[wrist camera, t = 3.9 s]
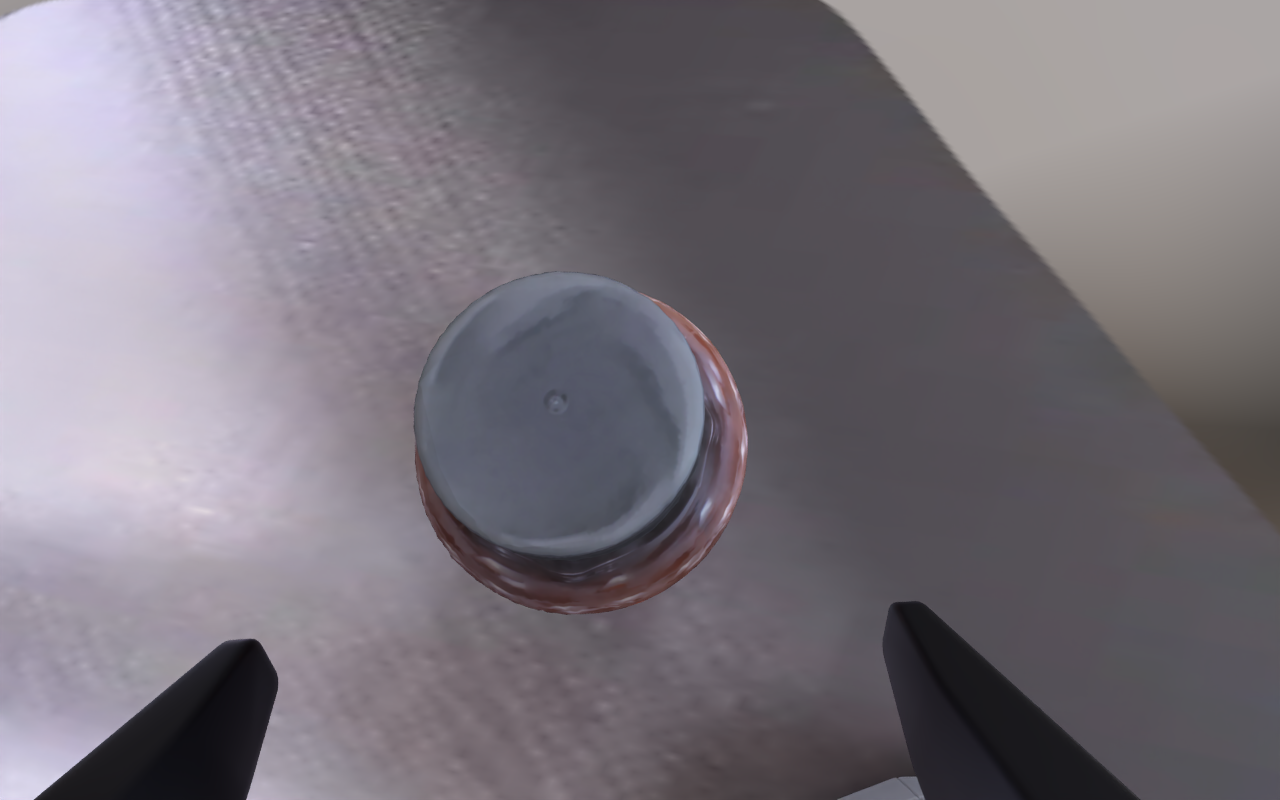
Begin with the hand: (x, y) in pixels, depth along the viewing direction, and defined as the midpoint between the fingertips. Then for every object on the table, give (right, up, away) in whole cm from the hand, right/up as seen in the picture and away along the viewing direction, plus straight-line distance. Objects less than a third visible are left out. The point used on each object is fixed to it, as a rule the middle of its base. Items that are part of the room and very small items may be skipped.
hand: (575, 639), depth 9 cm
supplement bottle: (0, +1, +11) cm, 11 cm away
